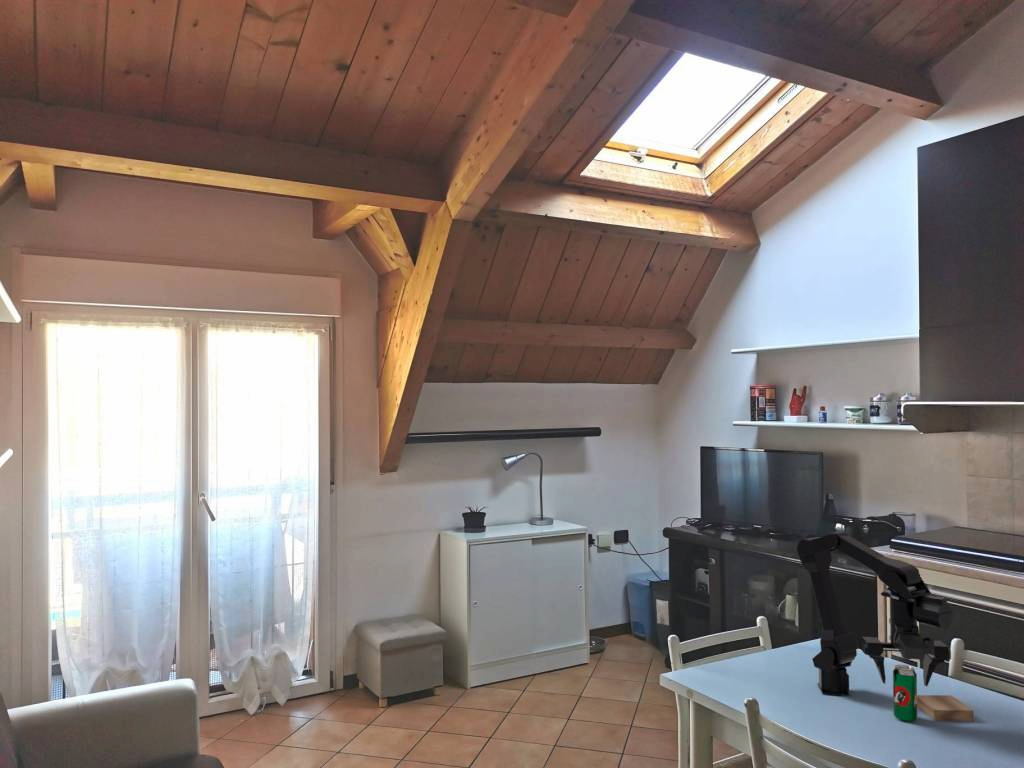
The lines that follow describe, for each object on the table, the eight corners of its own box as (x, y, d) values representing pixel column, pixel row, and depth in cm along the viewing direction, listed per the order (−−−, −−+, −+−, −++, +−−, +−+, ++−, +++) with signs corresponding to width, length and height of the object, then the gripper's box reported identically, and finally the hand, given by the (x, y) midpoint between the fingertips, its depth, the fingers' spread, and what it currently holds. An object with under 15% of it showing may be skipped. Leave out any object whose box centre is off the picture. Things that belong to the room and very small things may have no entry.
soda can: (920, 723, 174) (919, 672, 174) (897, 722, 175) (896, 670, 175) (913, 715, 179) (912, 664, 179) (890, 713, 180) (889, 663, 180)
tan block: (935, 720, 176) (934, 710, 176) (915, 705, 185) (914, 695, 185) (973, 721, 175) (973, 710, 175) (951, 705, 184) (951, 695, 184)
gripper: (870, 626, 172) (872, 694, 171) (959, 630, 168) (961, 700, 168) (858, 612, 182) (859, 677, 182) (941, 616, 179) (942, 682, 178)
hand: (904, 684), depth 177 cm, fingers open, 9 cm apart
